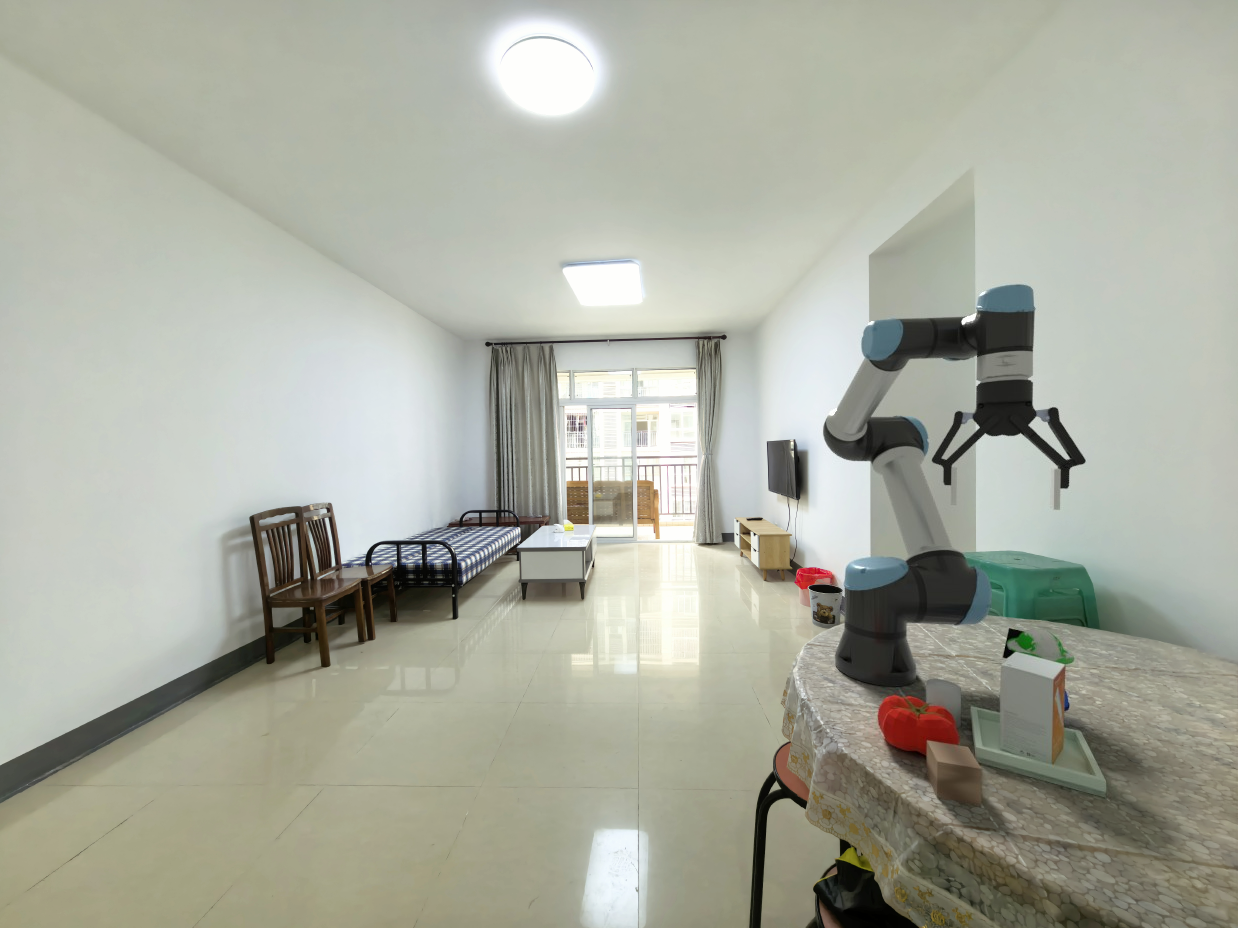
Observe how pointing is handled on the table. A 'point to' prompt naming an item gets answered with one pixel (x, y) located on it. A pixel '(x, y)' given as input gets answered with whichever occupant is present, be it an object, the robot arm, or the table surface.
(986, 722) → the tray
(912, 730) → the tomato
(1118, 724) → the table surface
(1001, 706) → the small box
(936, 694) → the grey cylinder
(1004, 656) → the toy
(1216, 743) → the table surface
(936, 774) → the walnut cube
